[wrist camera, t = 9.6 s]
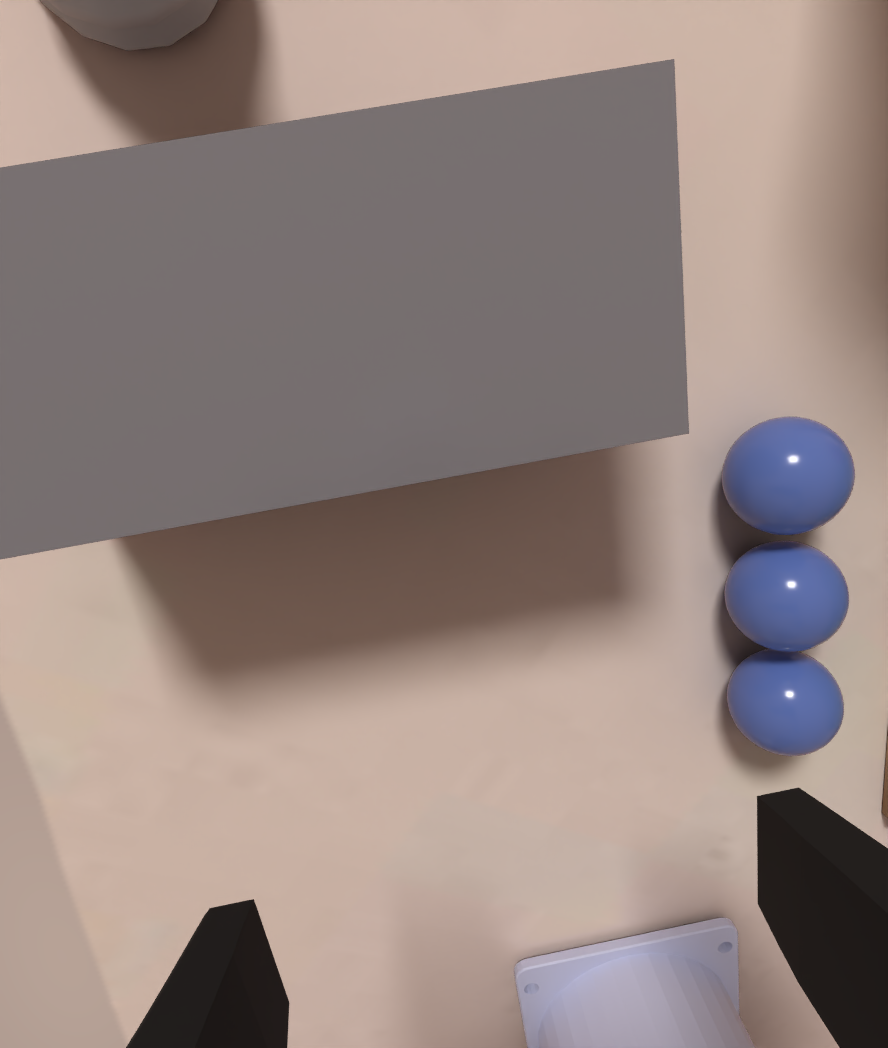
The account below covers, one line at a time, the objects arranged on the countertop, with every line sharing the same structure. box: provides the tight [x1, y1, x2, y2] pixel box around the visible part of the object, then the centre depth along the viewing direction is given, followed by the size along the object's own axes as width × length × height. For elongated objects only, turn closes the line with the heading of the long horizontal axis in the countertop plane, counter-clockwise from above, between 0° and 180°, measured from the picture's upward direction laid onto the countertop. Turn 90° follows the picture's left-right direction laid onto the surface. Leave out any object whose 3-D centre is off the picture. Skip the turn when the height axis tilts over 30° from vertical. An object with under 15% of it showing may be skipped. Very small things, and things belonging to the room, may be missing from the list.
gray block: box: [0, 59, 689, 559], centre depth 13 cm, size 13×6×6 cm, turn 99°
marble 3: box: [727, 649, 844, 756], centre depth 19 cm, size 3×3×3 cm
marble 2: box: [724, 541, 849, 652], centre depth 18 cm, size 3×3×3 cm
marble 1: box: [722, 417, 855, 535], centre depth 17 cm, size 3×3×3 cm
